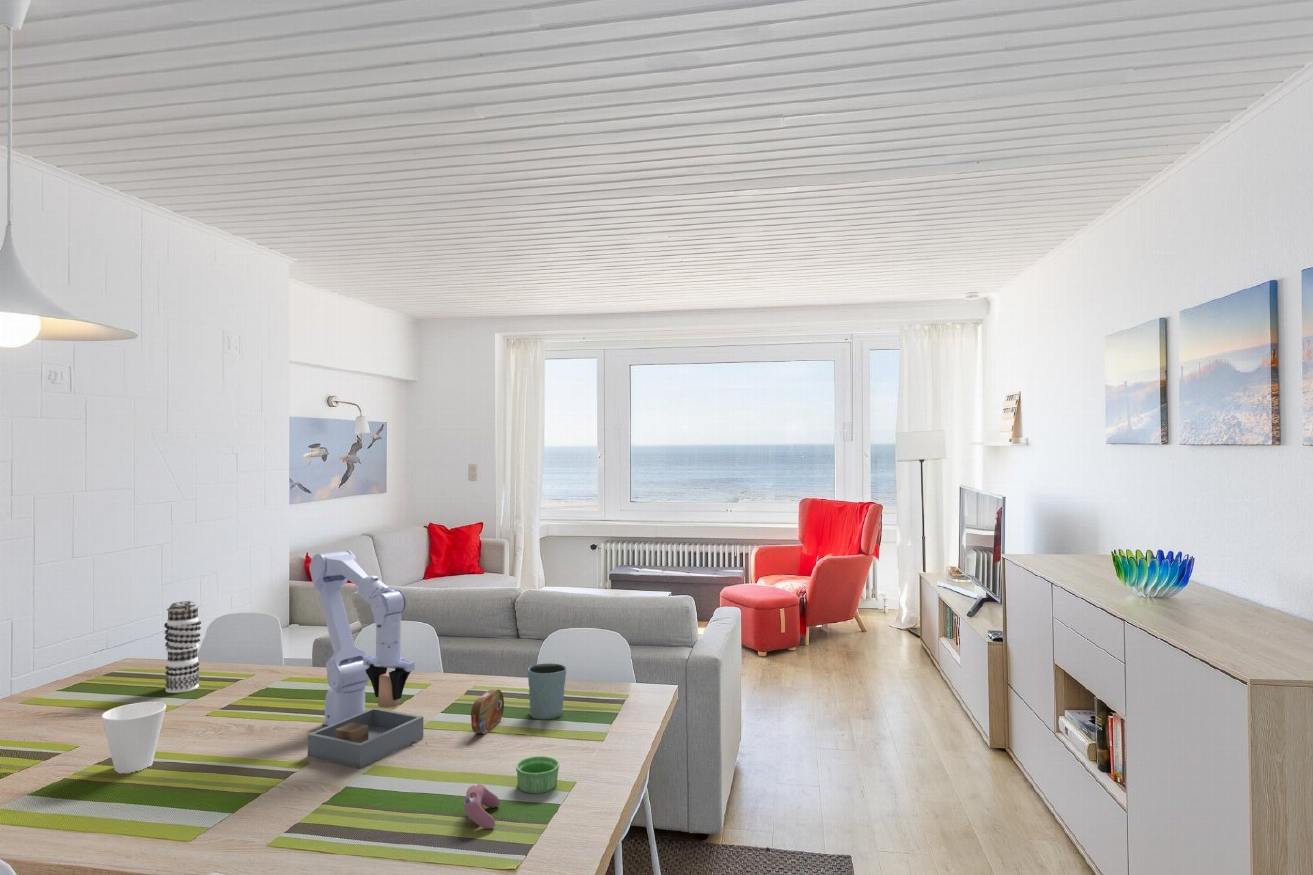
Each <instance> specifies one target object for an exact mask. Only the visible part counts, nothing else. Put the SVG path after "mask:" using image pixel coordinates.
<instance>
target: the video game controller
mask: <svg viewBox="0 0 1313 875" xmlns="http://www.w3.org/2000/svg"><path fill="white" fill-rule="evenodd" d="M500 804H501V801H500V799H499V797H498V796H497V795H496V794H495V793H493V792H491V791H489V789H488V788H487V787H486V786H485V785H483V784H481V783H480V782H478V784H473V785H471V786H469V787H468V788H467V791H466V794H465V801H464V802H463V809H464V812H465V814H466V816H467V818H468V820H470V821H472V822H474V824H476V825H477V826H479V827H481V828H484V829H486V830H492V829H493V828H494V827H495V826H496V820H495V819H494V817H493V816H492V815H491V814H490V813H488V812H487V811H486V810H485V807H484V806H486V807H488V808H492V809H496V808H495V807H497V808H498V807H499V806H500Z"/></svg>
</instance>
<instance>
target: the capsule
mask: <svg viewBox="0 0 1313 875" xmlns="http://www.w3.org/2000/svg"><path fill="white" fill-rule="evenodd" d="M377 698H378V700H377V707H380V708H385V709H386V708H388V709H389V708H395V707H397V706H400V703H401V698H400V699H398V700H393V696H392V683H391V679H390V676H389V672H388V673H387V672H386V674H382V675H380V676H379V696H378V697H377Z"/></svg>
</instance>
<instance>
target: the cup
mask: <svg viewBox="0 0 1313 875" xmlns="http://www.w3.org/2000/svg"><path fill="white" fill-rule="evenodd" d="M166 709H167V705H166V704H165V703H164V702H158V701H145V702H135V703H131V704H124V705H119V706H117V707H114V708H110V709H108V710H107V711H105V712H103V713H102V714H101V720H102V724H103V727H104V730H105V731H104V732H105V735H106V739H107V744H108V748H109V752H110V756H111V759H112V764H113V768H114V772H115V771H116V772H118V773H117V774H122V773H125V774H131V772H133V773H136V772H135V771H138V772H141V771H144V770H146V769H148V768H147V767H149V766H150V767H152V766H153V763H154V757H155V754H156V750H157V745H158V743H159V737H160V733H161V728H162V725H163V722H164V721H163V720H164V716H165V713H166ZM150 767H149V768H150ZM145 768H146V769H145ZM143 769H144V770H143ZM140 770H141V771H140ZM116 772H115V773H116Z"/></svg>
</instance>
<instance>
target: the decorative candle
mask: <svg viewBox="0 0 1313 875" xmlns="http://www.w3.org/2000/svg"><path fill="white" fill-rule="evenodd" d="M166 611H167V621H166V622H165V623H164V626H163V627H164V628H165V629H166V630H164V635H165V637H164V639H165V640H166V642H165V646H164V647H166V648H165V651H166V652H167V659H166V666H165V670H166V671H165V672H164V673H165V675H166V677H165V678H164V681H165V684H164V686H165V687H166V688H165V692H166V693H167V694H168V693H169V694H170V693H172V694H177V693H179V694H180V693H186V692H190V691H194V690H196V689H198V688H199V687H200V684H199V683H200V679H199V678H200V673H199V671H200V667H198V666H200V662H199V656H198V648H200V644H199V642H201V639H200V638H199V637H201V633H199V632H198V631H200V630H201V629H202V627H201V626H200V625H201V624H202V622H201V621H200V620H199V619H200V618H199V605H197V604H196V602H194V601H191V600H188V601H186V600H185V601H184V600H183V601H178V602H174V603H172V604H171V605H169V608H167V609H166Z"/></svg>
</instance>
